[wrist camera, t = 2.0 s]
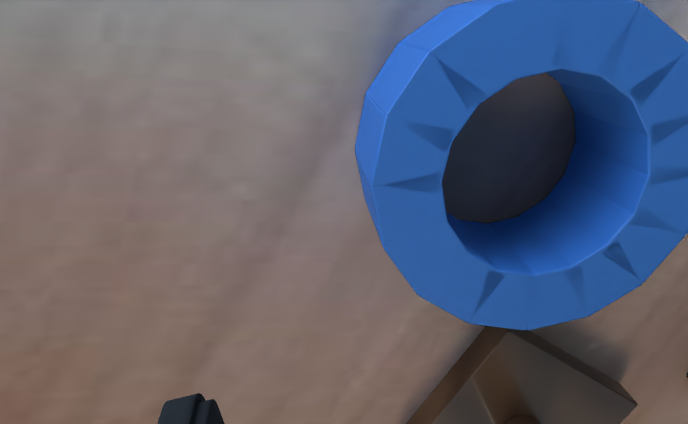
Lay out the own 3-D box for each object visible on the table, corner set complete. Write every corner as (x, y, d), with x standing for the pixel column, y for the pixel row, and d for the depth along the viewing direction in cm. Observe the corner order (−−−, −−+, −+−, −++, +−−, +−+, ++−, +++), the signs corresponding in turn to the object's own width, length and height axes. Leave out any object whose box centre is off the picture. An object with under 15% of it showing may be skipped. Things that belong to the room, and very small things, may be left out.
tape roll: (470, -70, 18) (526, -97, 14) (682, 101, 21) (785, 124, 17) (304, 187, 21) (306, 234, 17) (511, 308, 24) (561, 376, 19)
